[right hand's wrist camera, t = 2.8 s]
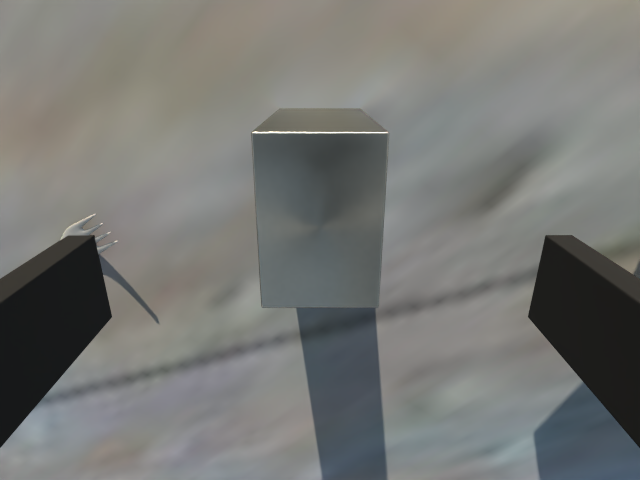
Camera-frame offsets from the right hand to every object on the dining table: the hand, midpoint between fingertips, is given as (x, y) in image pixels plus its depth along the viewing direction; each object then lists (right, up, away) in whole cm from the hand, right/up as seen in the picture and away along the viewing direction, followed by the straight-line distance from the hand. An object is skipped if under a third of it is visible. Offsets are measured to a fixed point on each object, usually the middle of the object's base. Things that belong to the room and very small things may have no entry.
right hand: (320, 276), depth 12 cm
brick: (0, +6, +15) cm, 16 cm away
